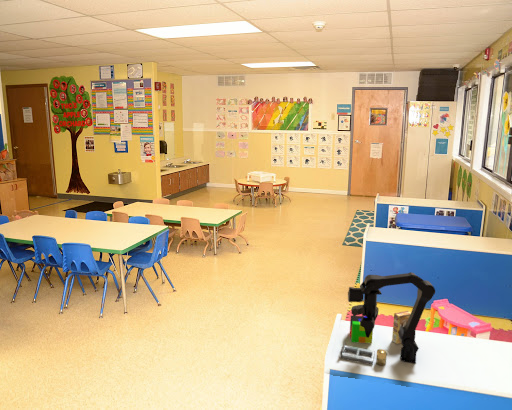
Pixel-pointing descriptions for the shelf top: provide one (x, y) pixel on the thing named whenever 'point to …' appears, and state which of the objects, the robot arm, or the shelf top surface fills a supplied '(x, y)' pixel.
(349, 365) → the shelf top surface
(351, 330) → the puzzle toy
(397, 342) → the candy box
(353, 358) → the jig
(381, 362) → the gold metal cylinder
